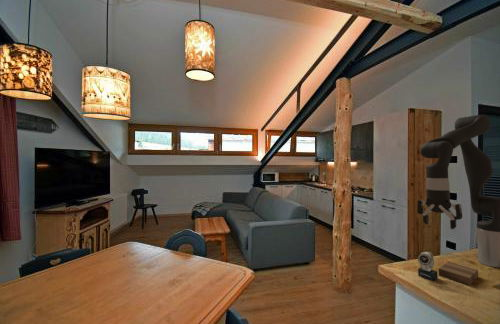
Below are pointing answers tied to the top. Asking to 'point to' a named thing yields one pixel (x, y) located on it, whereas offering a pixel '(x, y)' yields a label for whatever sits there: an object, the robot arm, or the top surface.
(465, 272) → the plinth
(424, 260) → the watch
